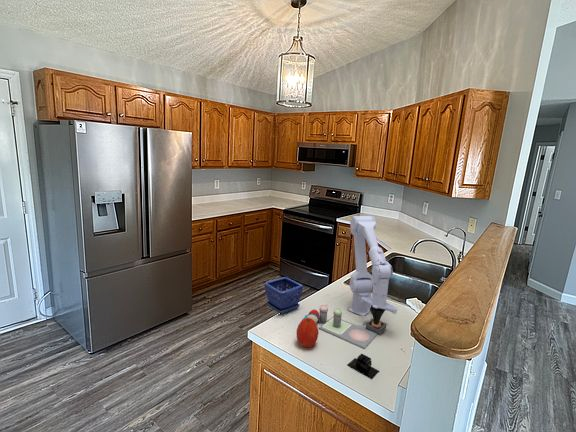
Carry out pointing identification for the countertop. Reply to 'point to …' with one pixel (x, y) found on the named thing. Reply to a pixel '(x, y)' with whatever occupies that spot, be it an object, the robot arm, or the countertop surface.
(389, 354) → the countertop surface
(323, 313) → the rose marker
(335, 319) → the sage marker
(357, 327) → the picture board
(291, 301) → the flower pot
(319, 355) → the countertop surface
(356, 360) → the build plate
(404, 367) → the countertop surface
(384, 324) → the button housing
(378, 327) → the button
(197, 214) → the countertop surface
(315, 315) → the toy figure
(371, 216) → the robot arm
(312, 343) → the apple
